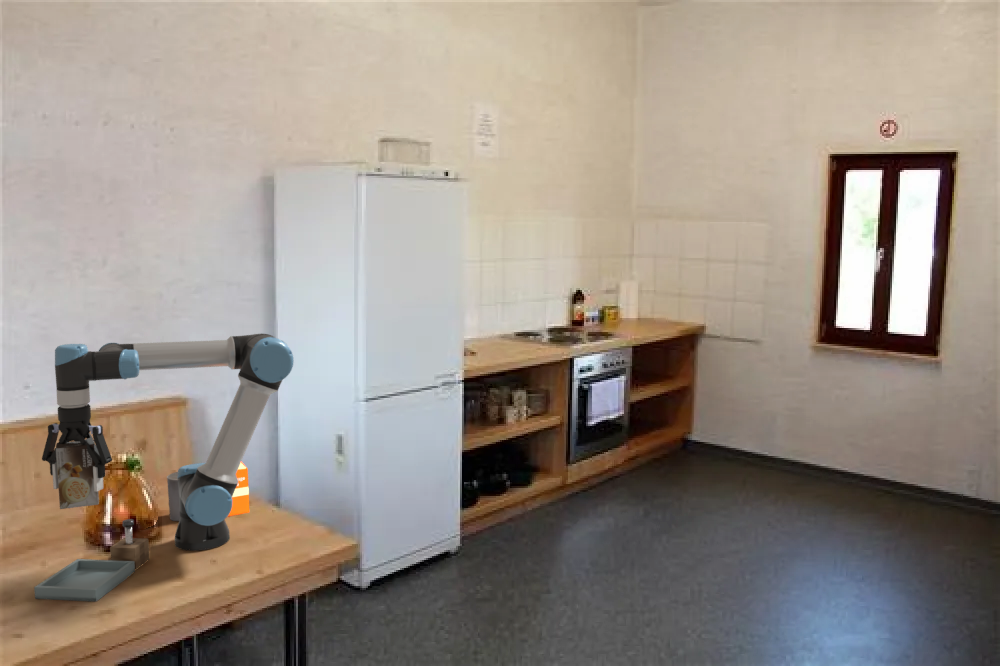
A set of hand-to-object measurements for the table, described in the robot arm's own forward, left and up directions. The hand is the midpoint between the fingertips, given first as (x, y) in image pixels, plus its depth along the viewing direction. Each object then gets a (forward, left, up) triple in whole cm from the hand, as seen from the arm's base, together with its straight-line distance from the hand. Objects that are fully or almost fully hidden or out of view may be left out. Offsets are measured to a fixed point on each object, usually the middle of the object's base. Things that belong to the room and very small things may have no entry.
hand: (78, 488), depth 219 cm
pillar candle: (-4, -48, -24) cm, 54 cm away
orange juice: (-17, -55, -24) cm, 63 cm away
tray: (-3, +4, -24) cm, 25 cm away
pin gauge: (-7, -10, -24) cm, 27 cm away
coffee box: (0, 0, -4) cm, 4 cm away
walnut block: (-7, -10, -24) cm, 27 cm away
